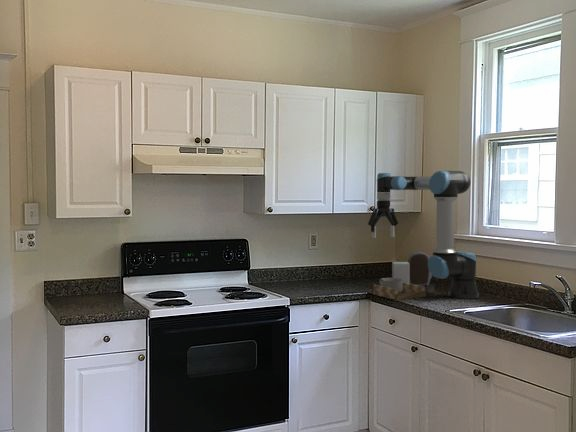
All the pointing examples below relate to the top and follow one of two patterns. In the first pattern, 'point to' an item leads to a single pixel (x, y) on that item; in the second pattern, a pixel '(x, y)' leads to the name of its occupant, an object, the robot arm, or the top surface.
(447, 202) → the robot arm
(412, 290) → the bay
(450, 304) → the top surface
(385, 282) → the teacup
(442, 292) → the top surface
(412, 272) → the dark brown rounded block
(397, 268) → the supplement box
